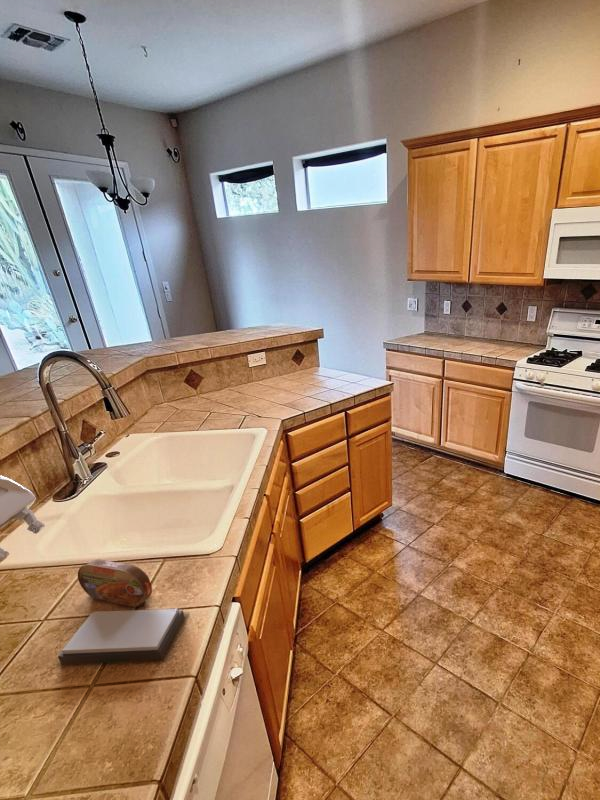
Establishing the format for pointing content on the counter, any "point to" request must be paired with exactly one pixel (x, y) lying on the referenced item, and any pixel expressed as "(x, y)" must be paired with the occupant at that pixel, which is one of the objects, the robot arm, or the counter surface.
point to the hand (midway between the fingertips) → (23, 543)
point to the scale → (123, 636)
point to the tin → (115, 582)
